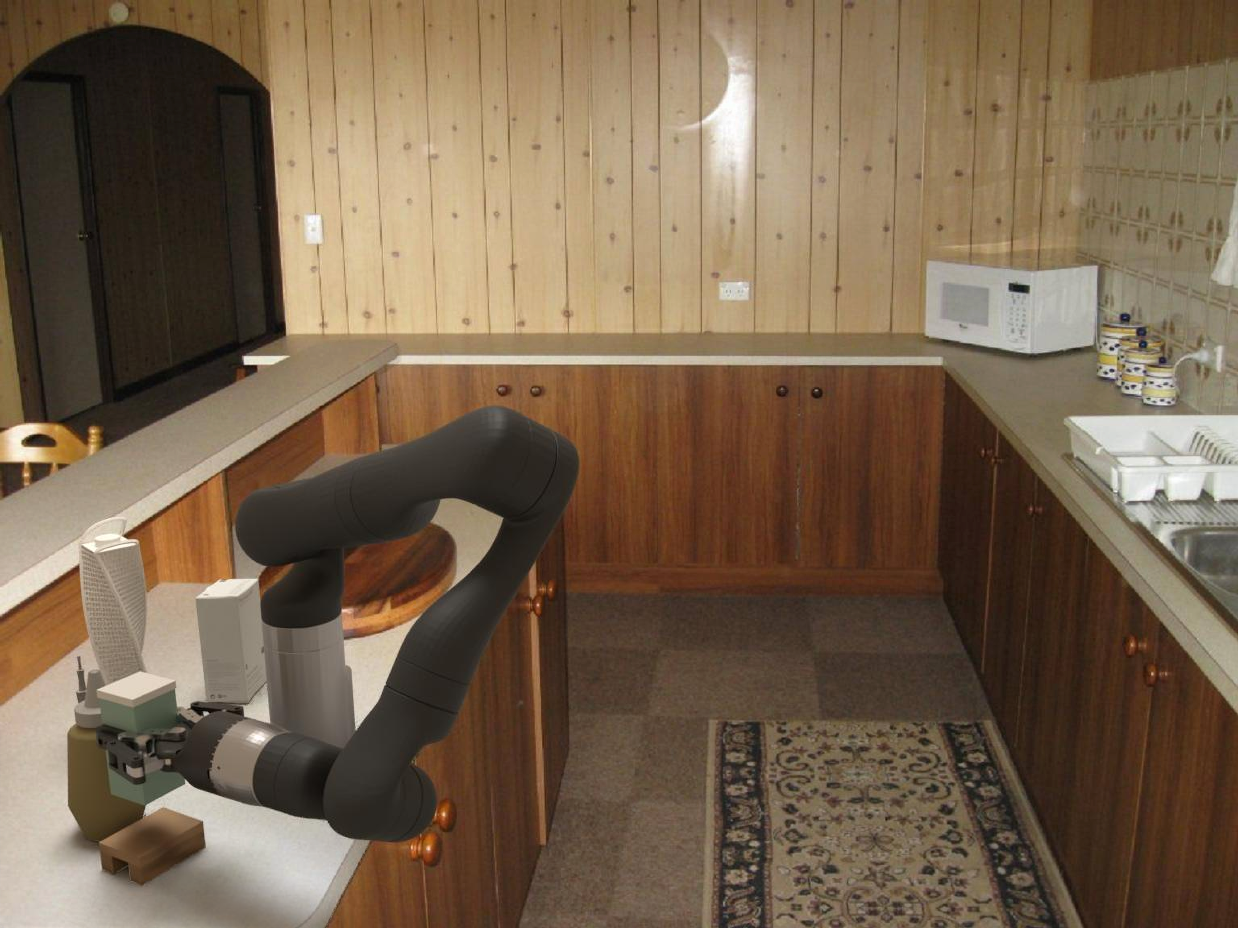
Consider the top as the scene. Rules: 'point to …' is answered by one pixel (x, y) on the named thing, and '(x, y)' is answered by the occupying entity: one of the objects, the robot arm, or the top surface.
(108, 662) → the skyscraper
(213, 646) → the skincare box
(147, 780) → the tin
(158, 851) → the brown wooden bridge block
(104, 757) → the squeeze bottle
